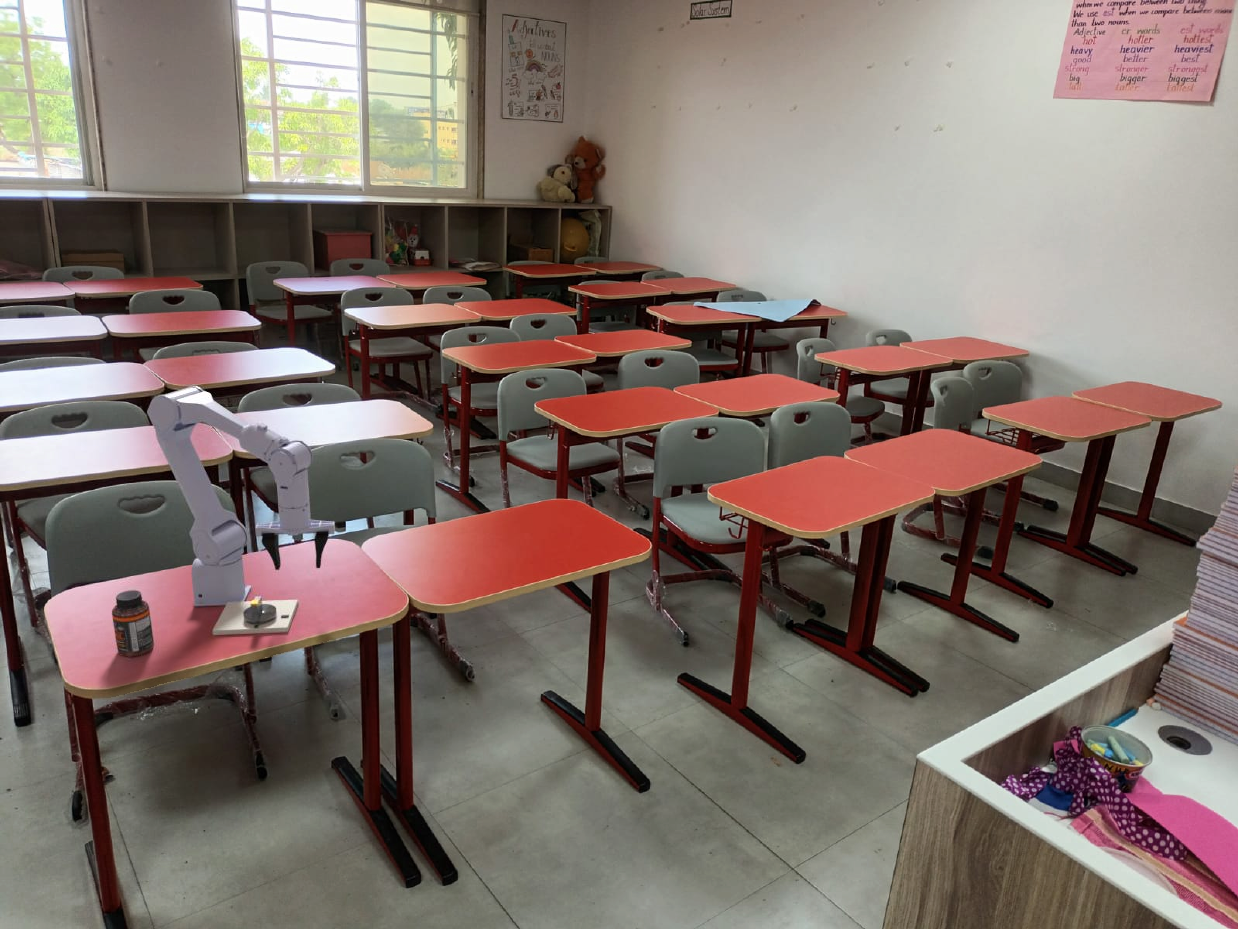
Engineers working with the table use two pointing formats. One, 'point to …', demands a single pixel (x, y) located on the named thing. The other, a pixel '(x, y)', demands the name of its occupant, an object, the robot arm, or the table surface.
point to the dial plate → (235, 624)
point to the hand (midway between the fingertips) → (298, 567)
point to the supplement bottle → (132, 624)
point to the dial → (259, 612)
